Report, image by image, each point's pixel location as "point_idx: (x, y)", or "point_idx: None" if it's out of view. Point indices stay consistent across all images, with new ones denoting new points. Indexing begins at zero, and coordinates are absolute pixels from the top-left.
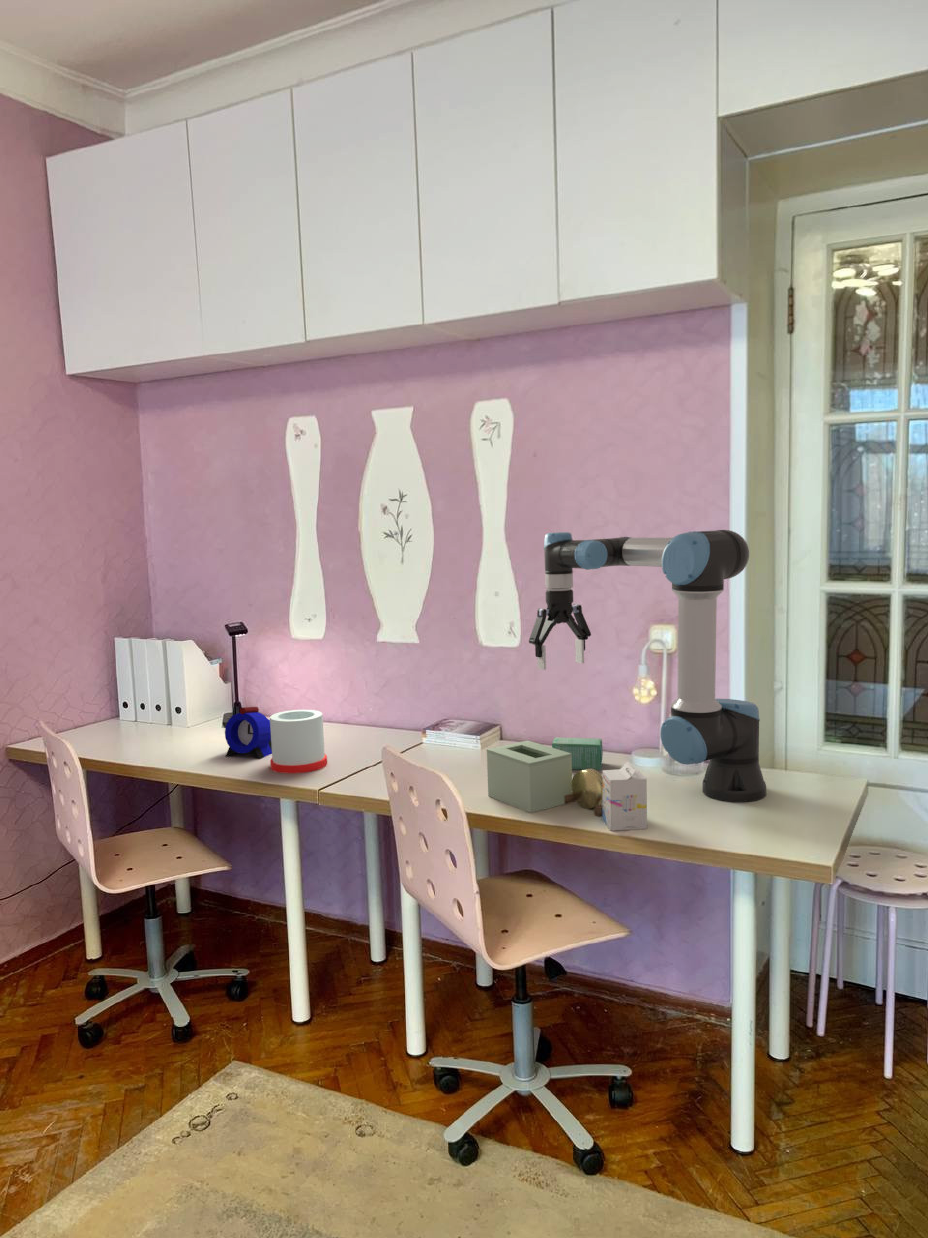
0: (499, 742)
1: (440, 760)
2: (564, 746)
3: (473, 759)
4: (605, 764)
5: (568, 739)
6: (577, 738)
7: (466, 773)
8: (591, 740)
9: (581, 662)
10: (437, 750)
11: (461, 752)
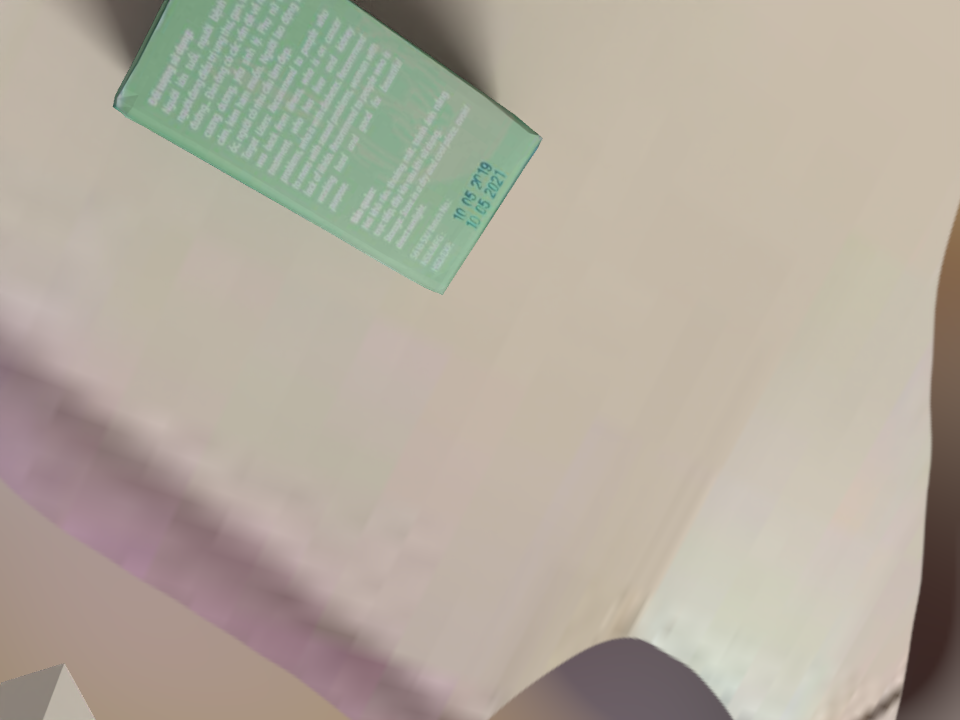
0: (505, 699)
1: (870, 511)
2: (465, 80)
3: (749, 474)
4: None
5: (384, 185)
6: (305, 186)
7: (895, 265)
8: (227, 71)
9: (66, 690)
10: (800, 658)
11: (734, 598)
